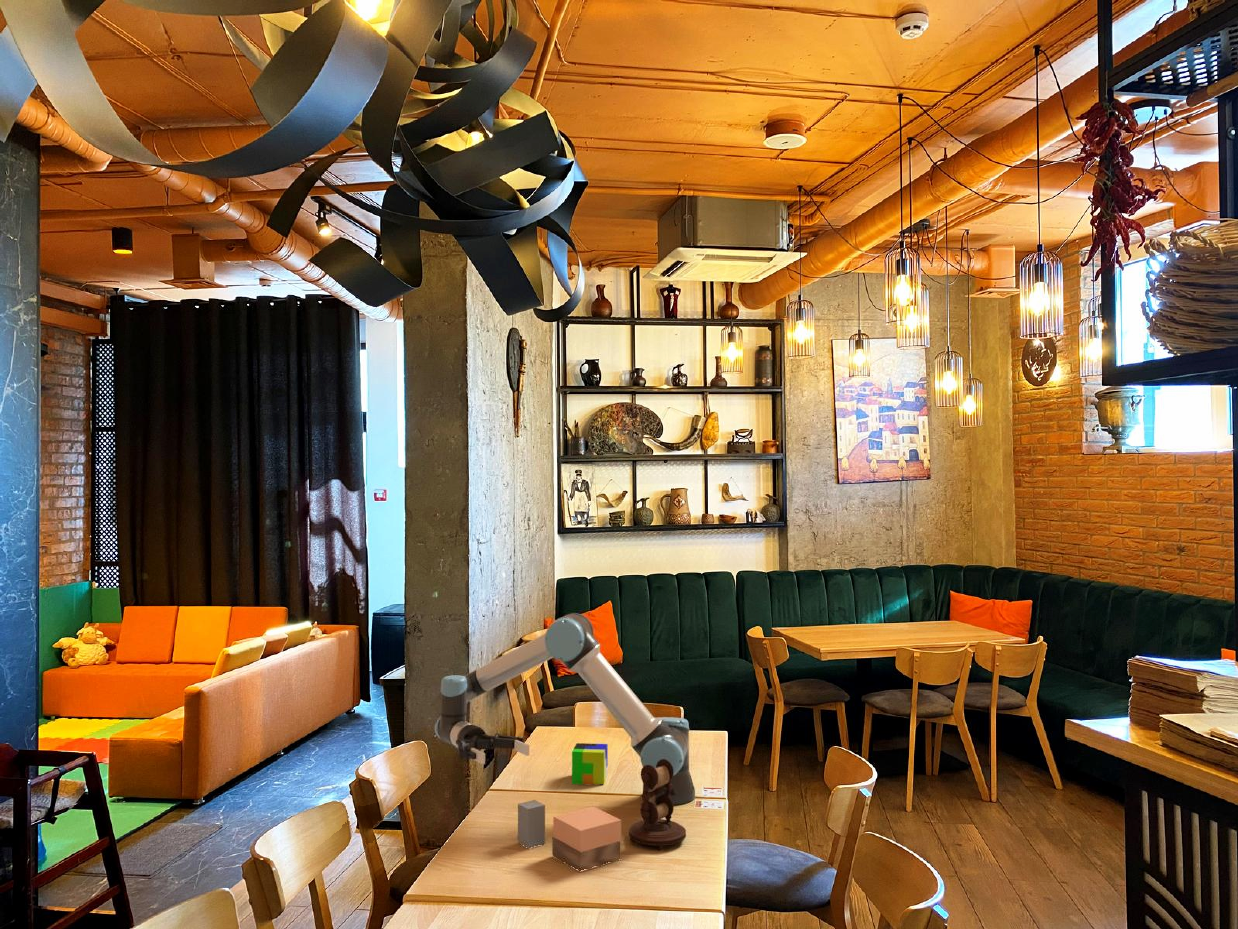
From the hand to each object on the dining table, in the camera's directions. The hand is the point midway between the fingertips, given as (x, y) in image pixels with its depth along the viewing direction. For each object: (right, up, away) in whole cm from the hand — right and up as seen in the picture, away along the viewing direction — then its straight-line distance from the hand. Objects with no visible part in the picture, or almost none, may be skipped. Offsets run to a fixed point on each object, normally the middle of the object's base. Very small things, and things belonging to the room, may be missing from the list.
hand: (506, 754), depth 236 cm
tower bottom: (+22, -19, -19) cm, 35 cm away
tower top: (+22, -14, -19) cm, 33 cm away
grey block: (+8, -19, -10) cm, 23 cm away
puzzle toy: (+21, -22, +43) cm, 53 cm away
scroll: (+40, -20, -8) cm, 45 cm away
